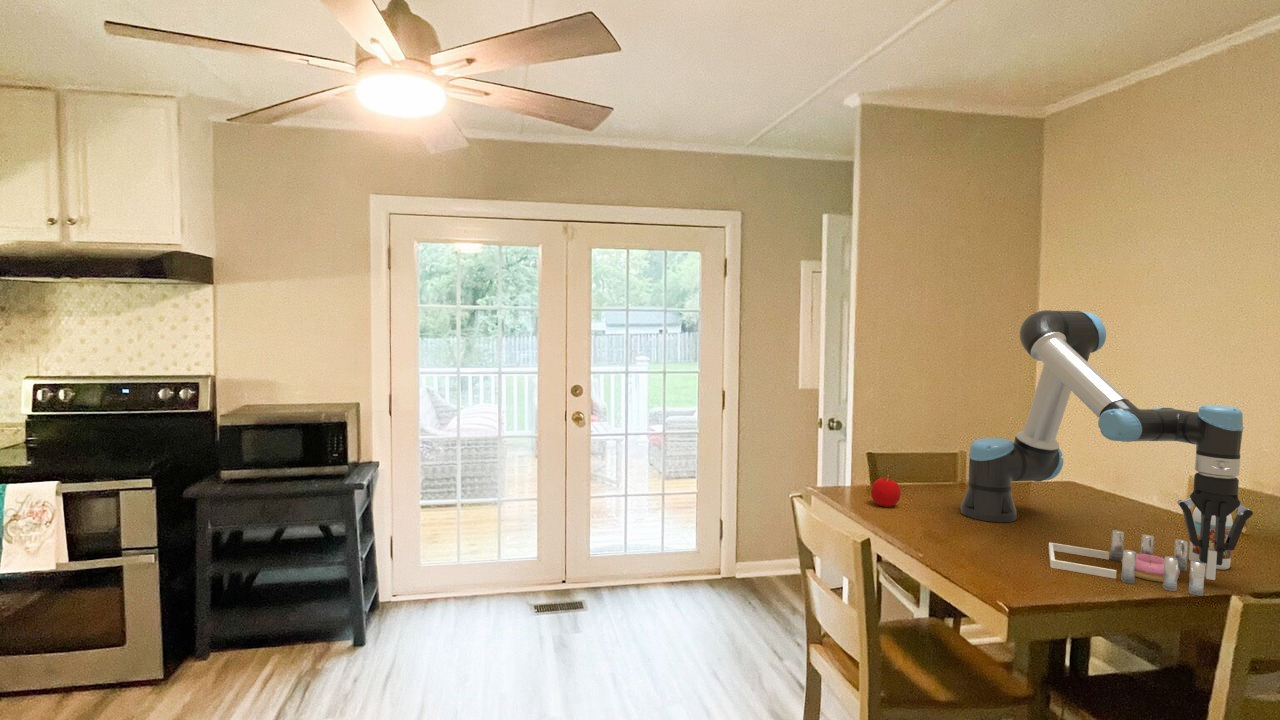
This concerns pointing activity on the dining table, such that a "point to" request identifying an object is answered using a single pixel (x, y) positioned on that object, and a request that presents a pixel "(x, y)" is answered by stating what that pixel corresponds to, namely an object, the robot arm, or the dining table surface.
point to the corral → (1080, 567)
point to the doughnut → (1150, 567)
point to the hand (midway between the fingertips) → (1209, 577)
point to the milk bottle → (1210, 539)
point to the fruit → (885, 492)
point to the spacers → (1169, 563)
